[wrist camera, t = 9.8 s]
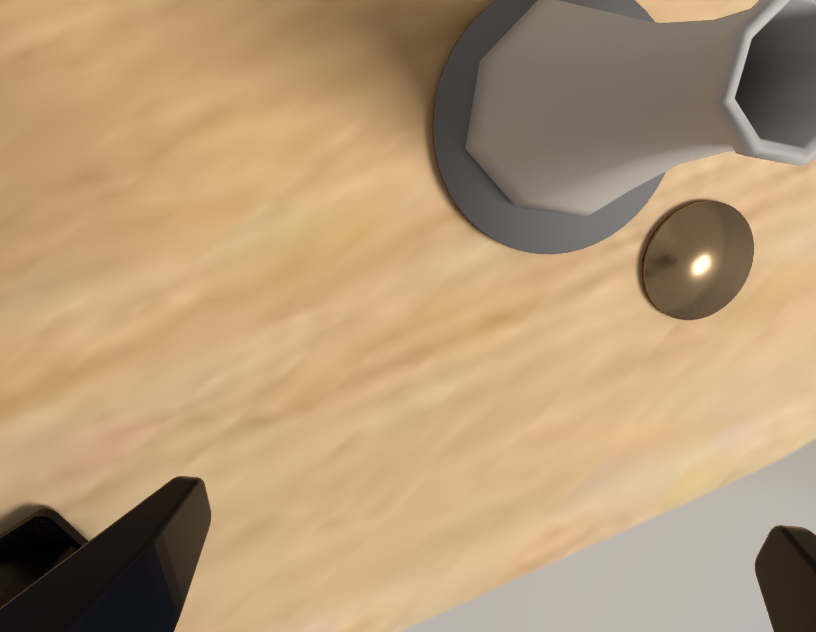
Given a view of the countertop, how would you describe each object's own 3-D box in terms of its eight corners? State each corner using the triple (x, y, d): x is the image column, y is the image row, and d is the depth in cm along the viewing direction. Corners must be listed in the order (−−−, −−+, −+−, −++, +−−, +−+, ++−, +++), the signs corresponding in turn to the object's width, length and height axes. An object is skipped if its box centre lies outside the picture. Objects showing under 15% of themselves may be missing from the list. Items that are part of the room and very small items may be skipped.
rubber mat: (506, 297, 21) (509, 300, 21) (382, 72, 18) (383, 71, 18) (707, 170, 21) (713, 171, 21) (619, -78, 18) (624, -82, 18)
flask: (688, 70, 20) (1038, -8, 10) (588, 246, 21) (818, 321, 12) (528, -44, 18) (783, -274, 8) (429, 160, 19) (550, 164, 9)
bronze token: (666, 339, 23) (669, 341, 23) (624, 243, 21) (627, 244, 21) (764, 278, 23) (767, 279, 23) (729, 177, 21) (733, 177, 21)
